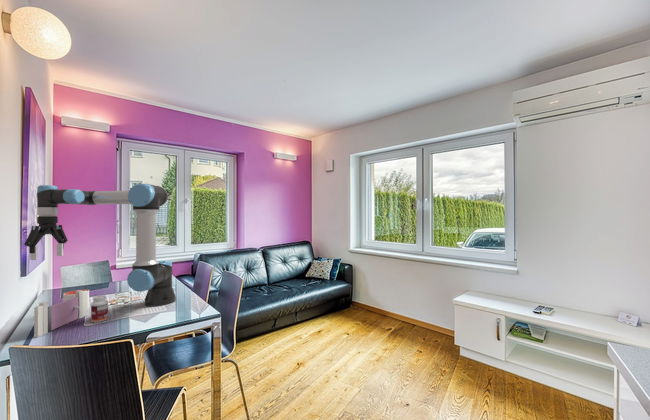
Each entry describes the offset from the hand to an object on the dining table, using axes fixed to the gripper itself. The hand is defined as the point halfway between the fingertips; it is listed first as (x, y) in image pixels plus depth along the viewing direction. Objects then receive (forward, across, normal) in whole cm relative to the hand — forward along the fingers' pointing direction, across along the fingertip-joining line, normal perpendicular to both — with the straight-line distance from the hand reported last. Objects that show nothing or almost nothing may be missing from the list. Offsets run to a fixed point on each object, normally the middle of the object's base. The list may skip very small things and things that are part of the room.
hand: (47, 257), depth 143 cm
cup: (+28, -1, +14) cm, 31 cm away
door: (+27, +17, +24) cm, 40 cm away
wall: (+28, +17, +23) cm, 40 cm away
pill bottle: (+28, +12, +35) cm, 46 cm away
